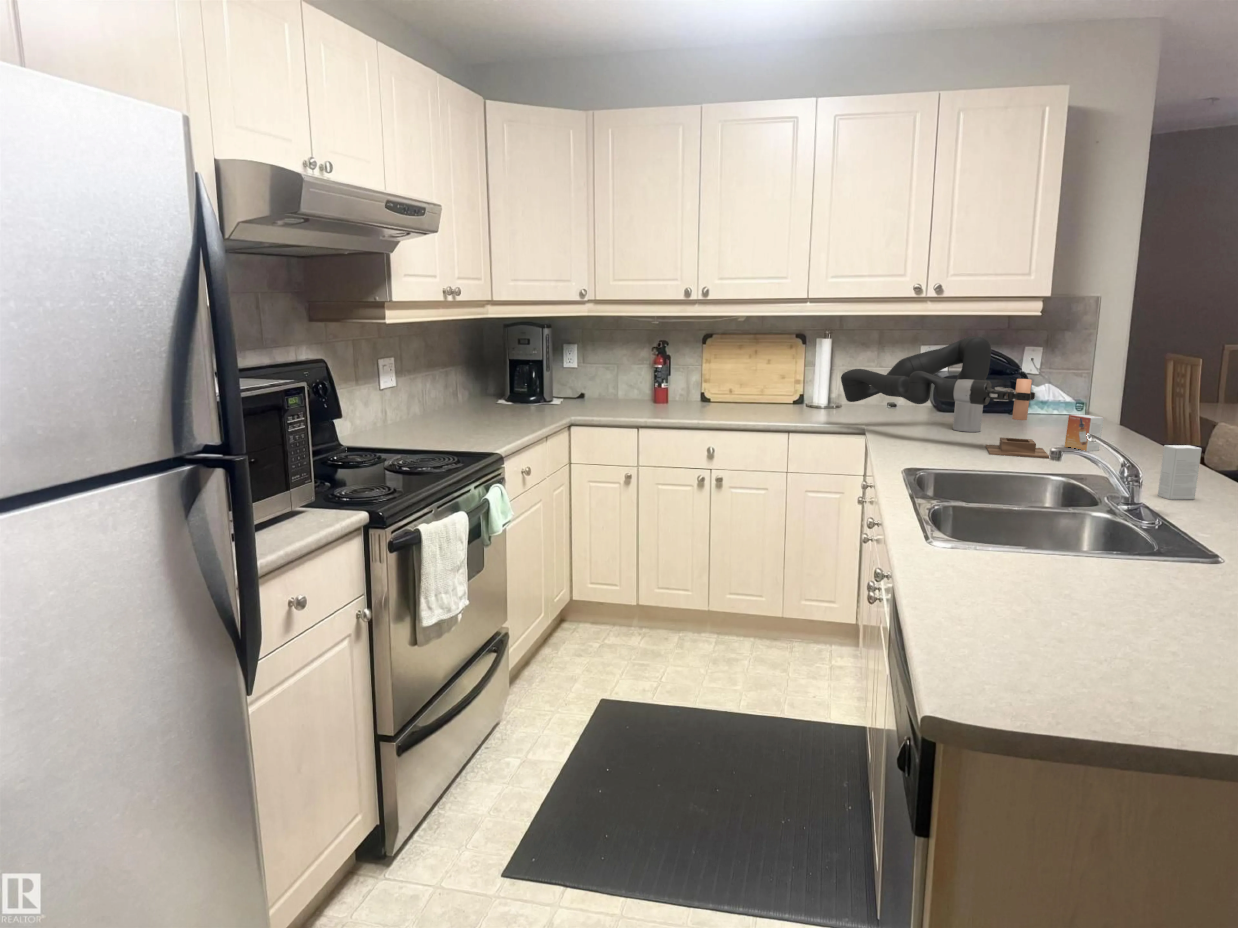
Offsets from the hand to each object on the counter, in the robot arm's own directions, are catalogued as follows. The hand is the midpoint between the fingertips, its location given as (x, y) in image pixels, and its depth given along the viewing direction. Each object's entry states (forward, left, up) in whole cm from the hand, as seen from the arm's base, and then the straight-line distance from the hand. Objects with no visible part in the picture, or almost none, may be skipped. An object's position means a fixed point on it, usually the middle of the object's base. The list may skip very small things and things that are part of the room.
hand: (1032, 396), depth 237 cm
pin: (-1, -3, -7) cm, 8 cm away
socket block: (-1, -2, -17) cm, 17 cm away
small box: (-17, +18, -17) cm, 30 cm away
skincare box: (+52, +26, -17) cm, 60 cm away
